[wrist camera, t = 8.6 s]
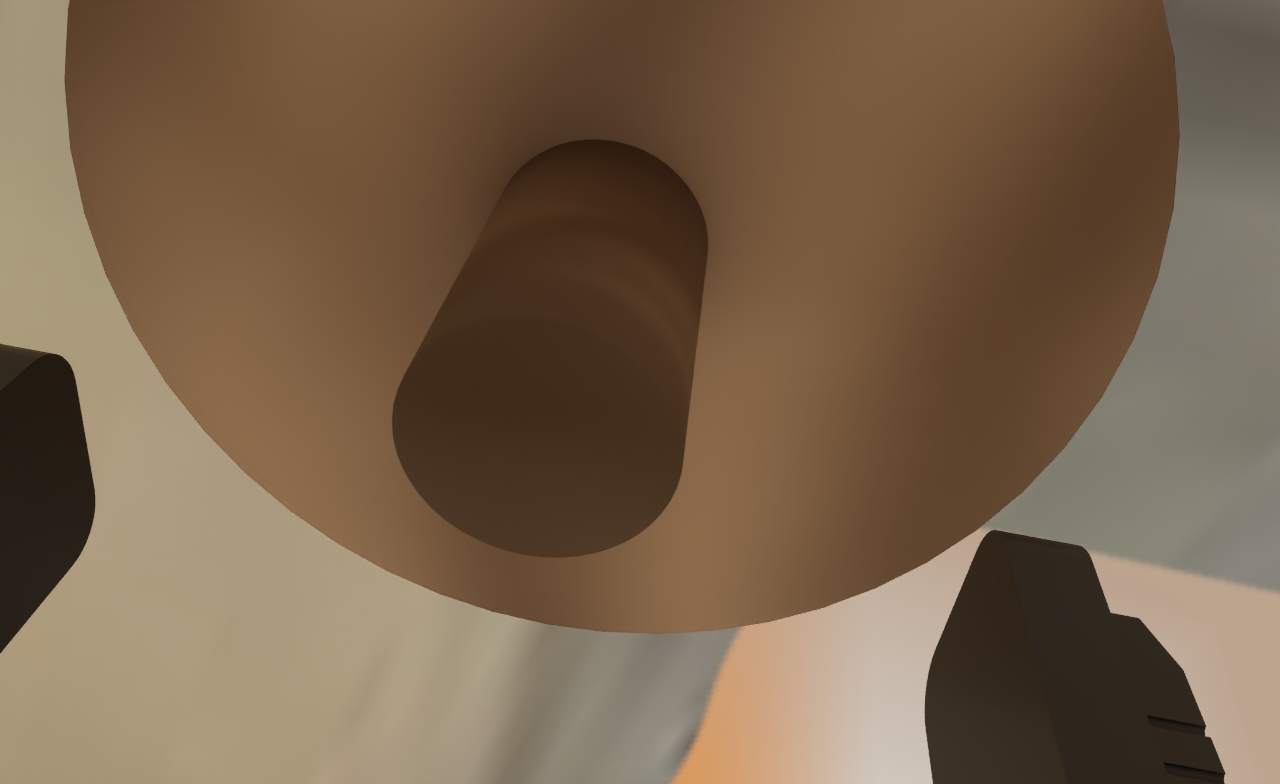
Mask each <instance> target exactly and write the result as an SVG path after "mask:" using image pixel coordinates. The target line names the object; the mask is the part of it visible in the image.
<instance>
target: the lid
mask: <svg viewBox="0 0 1280 784" xmlns="http://www.w3.org/2000/svg"><path fill="white" fill-rule="evenodd" d="M65 91H66V103H67V115H68V126H69V138H70V149H71V153H72V158H73V163H74V167H75V172H76V176H77V181H78V186H79V190H80V195H81V199H82V204H83V209H84V213H85V216H86V219H87V222H88V225H89V227H90V230H91V233H92V236H93V239H94V242H95V245H96V247H97V250H98V253H99V256H100V259H101V262H102V265H103V268H104V270H105V273H106V276H107V278H108V280H109V282H110V284H111V286H112V288H113V290H114V292H115V294H116V296H117V298H118V300H119V302H120V304H121V306H122V308H123V310H124V313H125V315H126V317H127V319H128V321H129V323H130V325H131V327H132V329H133V331H134V333H135V334H136V336H137V337H138V339H139V341H140V342H141V344H142V345H143V347H144V348H145V350H146V352H147V353H148V355H149V356H150V358H151V360H152V361H153V363H154V364H155V366H156V367H157V369H158V371H159V372H160V374H161V375H162V377H163V378H164V380H165V382H166V383H167V385H168V386H169V387H170V388H171V390H172V391H173V392H174V393H175V395H176V396H177V397H178V398H179V400H180V401H181V402H182V403H183V405H184V406H185V407H186V408H187V410H188V411H189V412H190V414H191V415H192V416H193V417H194V419H195V420H196V421H197V422H198V424H199V425H200V426H201V427H202V429H203V430H204V431H205V432H206V433H207V434H208V435H209V436H210V437H211V438H212V439H213V440H214V441H215V442H216V443H217V444H218V445H219V446H220V447H221V449H222V450H223V451H224V452H225V453H226V454H227V455H228V456H229V457H230V458H231V459H232V460H233V461H234V462H235V463H236V464H237V465H238V466H239V467H240V468H241V469H242V470H243V471H244V472H245V473H246V474H247V475H248V476H249V477H251V478H252V479H253V480H254V481H255V482H257V483H258V484H259V485H260V486H261V487H263V488H264V489H265V490H266V491H267V492H269V493H270V494H271V495H272V496H273V497H274V498H276V499H277V500H278V501H279V502H280V503H282V504H283V505H284V506H285V507H286V508H288V509H289V510H290V511H291V512H293V513H294V514H296V515H297V516H299V517H300V518H301V519H303V520H304V521H306V522H307V523H309V524H310V525H312V526H313V527H315V528H316V529H318V530H319V531H320V532H322V533H323V534H325V535H326V536H328V537H329V538H331V539H332V540H334V541H335V542H336V543H338V544H340V545H341V546H343V547H345V548H347V549H349V550H350V551H352V552H354V553H356V554H358V555H359V556H361V557H363V558H365V559H367V560H368V561H370V562H372V563H374V564H376V565H378V566H379V567H381V568H383V569H385V570H387V571H388V572H391V573H393V574H395V575H398V576H400V577H402V578H404V579H407V580H409V581H411V582H413V583H416V584H418V585H420V586H423V587H425V588H427V589H429V590H432V591H434V592H436V593H439V594H441V595H444V596H447V597H450V598H453V599H456V600H459V601H462V602H465V603H468V604H471V605H474V606H477V607H481V608H484V609H487V610H490V611H493V612H497V613H501V614H505V615H510V616H514V617H518V618H523V619H527V620H531V621H536V622H540V623H544V624H550V625H557V626H565V627H572V628H580V629H587V630H594V631H602V632H626V633H651V634H662V633H679V632H697V631H714V630H720V629H727V628H733V627H740V626H746V625H752V624H759V623H765V622H770V621H774V620H778V619H782V618H786V617H790V616H793V615H797V614H801V613H805V612H809V611H812V610H817V609H820V608H823V607H826V606H829V605H831V604H834V603H837V602H840V601H842V600H845V599H848V598H850V597H853V596H856V595H858V594H861V593H864V592H867V591H869V590H872V589H874V588H877V587H879V586H881V585H883V584H885V583H887V582H889V581H891V580H893V579H895V578H897V577H899V576H901V575H903V574H905V573H907V572H909V571H911V570H913V569H915V568H917V567H919V566H921V565H923V564H925V563H927V562H928V561H930V560H931V559H933V558H934V557H936V556H938V555H939V554H941V553H942V552H944V551H945V550H947V549H948V548H950V547H951V546H953V545H955V544H956V543H958V542H959V541H961V540H962V539H964V538H965V537H967V536H968V535H970V534H971V533H973V532H975V531H976V530H977V529H979V528H980V527H981V526H982V525H983V524H985V523H986V522H987V521H988V520H989V519H991V518H992V517H993V516H994V515H995V514H997V513H998V512H999V511H1000V510H1001V509H1003V508H1004V507H1005V506H1006V505H1008V504H1009V503H1010V502H1011V501H1012V500H1014V499H1015V498H1016V497H1017V496H1018V495H1020V494H1021V493H1022V492H1023V491H1024V490H1025V489H1026V488H1027V487H1028V486H1029V485H1030V484H1031V483H1032V482H1033V480H1034V479H1035V478H1036V477H1037V476H1038V475H1039V474H1040V473H1041V472H1042V471H1043V470H1044V469H1045V468H1046V467H1047V466H1048V465H1049V464H1050V463H1051V462H1052V460H1053V459H1054V458H1055V457H1056V456H1057V455H1058V454H1059V453H1060V452H1061V451H1062V450H1063V449H1064V448H1065V446H1066V445H1067V444H1068V442H1069V441H1070V440H1071V438H1072V437H1073V436H1074V434H1075V433H1076V431H1077V430H1078V429H1079V427H1080V426H1081V425H1082V423H1083V422H1084V421H1085V419H1086V418H1087V417H1088V415H1089V414H1090V412H1091V411H1092V410H1093V408H1094V407H1095V406H1096V404H1097V403H1098V402H1099V400H1100V399H1101V397H1102V396H1103V394H1104V392H1105V390H1106V389H1107V387H1108V385H1109V383H1110V381H1111V379H1112V378H1113V376H1114V374H1115V372H1116V370H1117V369H1118V367H1119V365H1120V363H1121V361H1122V359H1123V358H1124V356H1125V354H1126V352H1127V350H1128V349H1129V347H1130V345H1131V343H1132V341H1133V339H1134V337H1135V334H1136V332H1137V329H1138V326H1139V324H1140V321H1141V319H1142V316H1143V313H1144V311H1145V308H1146V306H1147V303H1148V300H1149V298H1150V295H1151V293H1152V290H1153V287H1154V285H1155V282H1156V280H1157V277H1158V273H1159V269H1160V264H1161V260H1162V256H1163V251H1164V247H1165V243H1166V238H1167V234H1168V230H1169V225H1170V221H1171V217H1172V212H1173V208H1174V196H1175V184H1176V172H1177V160H1178V148H1179V136H1180V134H1179V118H1178V103H1177V87H1176V72H1175V58H1174V53H1173V49H1172V44H1171V40H1170V35H1169V30H1168V26H1167V21H1166V17H1165V12H1164V8H1163V3H1162V0H70V3H69V8H68V23H67V42H66V62H65Z"/></svg>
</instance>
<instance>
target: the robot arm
mask: <svg viewBox="0 0 1280 784" xmlns="http://www.w3.org/2000/svg"><path fill="white" fill-rule="evenodd" d="M94 512H95V489H94V484H93V478H92V472H91V466H90V461H89V455H88V449H87V443H86V437H85V432H84V426H83V420H82V414H81V409H80V403H79V397H78V391H77V386H76V380H75V376H74V373H73V370H72V368H71V366H70V364H69V363H68V362H67V360H65V359H64V358H63V357H62V356H60V355H57V354H52V353H47V352H41V351H36V350H30V349H25V348H20V347H14V346H9V345H3V344H0V653H1V652H2V651H3V649H4V648H5V647H6V646H7V645H8V643H9V642H10V641H11V640H12V639H13V637H14V636H15V635H16V634H17V632H18V631H19V630H20V629H21V628H22V626H23V625H24V624H25V623H26V622H27V620H28V619H29V618H30V617H31V615H32V614H33V613H34V612H35V611H36V609H37V608H38V607H39V606H40V605H41V603H42V602H43V601H44V600H45V598H46V597H47V596H48V595H49V594H50V592H51V591H52V590H53V589H54V588H55V586H56V585H57V584H58V583H59V581H60V580H61V579H62V578H63V577H64V575H65V574H66V573H67V572H68V570H69V569H70V568H71V567H72V566H73V564H74V563H75V562H76V560H77V559H78V557H79V555H80V554H81V552H82V550H83V548H84V546H85V544H86V542H87V539H88V537H89V534H90V531H91V527H92V524H93V518H94ZM925 726H926V734H927V742H928V749H929V757H930V764H931V771H932V779H933V784H1224V775H1225V771H1224V769H1223V767H1222V764H1221V762H1220V759H1219V757H1218V754H1217V752H1216V749H1215V747H1214V744H1213V742H1212V740H1211V738H1210V737H1205V727H1206V725H1205V722H1204V720H1203V717H1202V715H1201V713H1200V710H1199V708H1198V705H1197V703H1196V700H1195V698H1194V695H1193V693H1192V691H1191V688H1190V686H1189V683H1188V681H1187V678H1186V676H1185V673H1184V671H1183V669H1182V668H1181V667H1180V666H1179V665H1178V663H1177V662H1176V661H1175V660H1174V659H1173V658H1172V656H1171V655H1170V654H1169V653H1168V652H1167V651H1166V649H1165V648H1164V647H1163V646H1162V645H1161V644H1160V642H1159V641H1158V640H1157V639H1156V638H1155V637H1154V635H1153V634H1152V633H1151V632H1150V631H1149V630H1148V628H1147V627H1146V626H1145V625H1144V624H1143V623H1142V621H1141V620H1140V619H1139V618H1135V617H1129V616H1124V615H1119V614H1113V613H1110V610H1109V608H1108V604H1107V602H1106V599H1105V596H1104V593H1103V590H1102V587H1101V585H1100V582H1099V579H1098V576H1097V573H1096V571H1095V568H1094V565H1093V562H1092V560H1091V557H1090V555H1089V553H1088V552H1087V551H1086V549H1084V548H1083V547H1082V546H1078V545H1073V544H1068V543H1062V542H1057V541H1052V540H1046V539H1041V538H1035V537H1030V536H1025V535H1019V534H1014V533H1008V532H1003V531H997V530H993V531H990V532H989V533H987V534H986V536H985V537H984V538H983V540H982V541H981V543H980V545H979V547H978V549H977V551H976V554H975V556H974V559H973V561H972V563H971V566H970V569H969V571H968V573H967V575H966V578H965V580H964V582H963V585H962V588H961V590H960V592H959V594H958V597H957V599H956V602H955V604H954V606H953V609H952V611H951V614H950V616H949V618H948V621H947V623H946V626H945V628H944V630H943V633H942V635H941V638H940V640H939V642H938V645H937V647H936V650H935V652H934V655H933V658H932V661H931V665H930V670H929V674H928V680H927V687H926V695H925Z"/></svg>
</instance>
